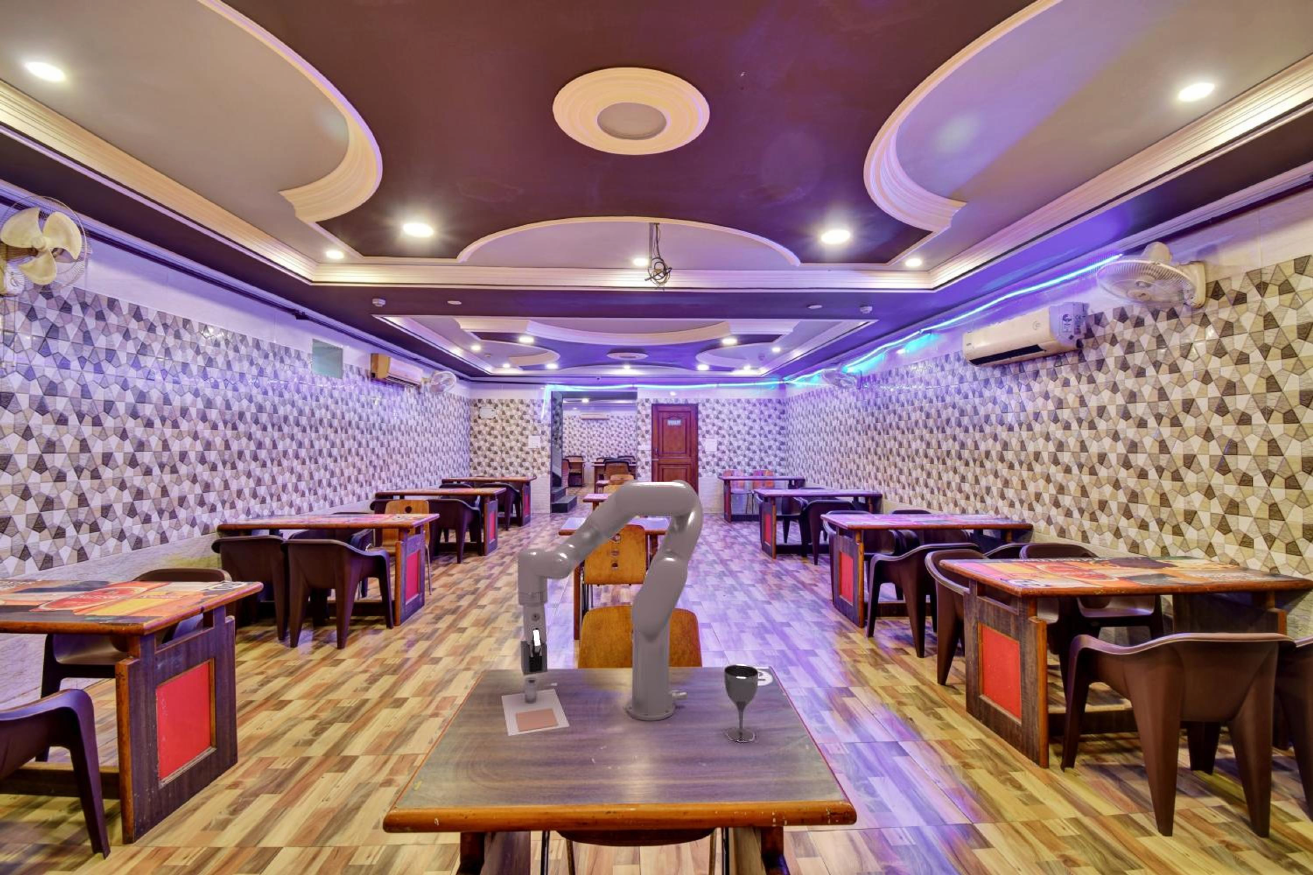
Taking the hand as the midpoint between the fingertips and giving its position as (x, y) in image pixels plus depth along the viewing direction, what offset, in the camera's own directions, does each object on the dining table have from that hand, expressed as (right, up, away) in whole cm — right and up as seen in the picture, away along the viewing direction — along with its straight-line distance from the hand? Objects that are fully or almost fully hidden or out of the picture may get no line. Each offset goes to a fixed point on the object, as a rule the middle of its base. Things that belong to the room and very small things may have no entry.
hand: (534, 665), depth 145 cm
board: (+1, -10, -5) cm, 12 cm away
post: (-1, -9, 0) cm, 9 cm away
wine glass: (+52, -11, -14) cm, 55 cm away
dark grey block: (0, -1, 0) cm, 1 cm away
